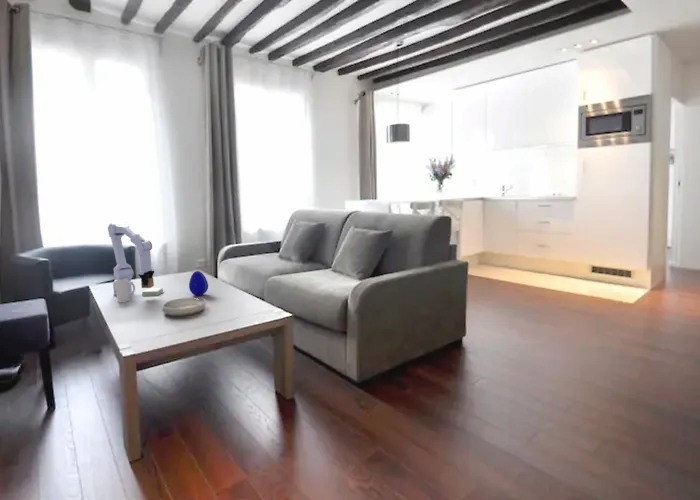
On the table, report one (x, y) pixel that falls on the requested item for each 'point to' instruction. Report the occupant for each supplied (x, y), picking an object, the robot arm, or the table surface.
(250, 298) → the table surface
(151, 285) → the walnut cube
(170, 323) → the table surface
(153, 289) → the base plate
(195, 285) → the ornament
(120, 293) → the mug
